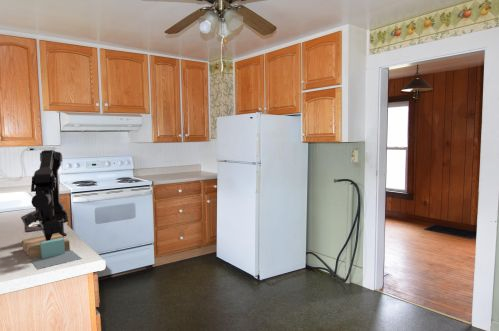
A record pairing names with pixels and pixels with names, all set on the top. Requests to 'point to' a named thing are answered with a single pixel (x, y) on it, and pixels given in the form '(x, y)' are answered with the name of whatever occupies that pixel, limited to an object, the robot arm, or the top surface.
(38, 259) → the slate mat
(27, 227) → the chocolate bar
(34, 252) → the oak deck
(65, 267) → the top surface
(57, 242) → the teal tile
